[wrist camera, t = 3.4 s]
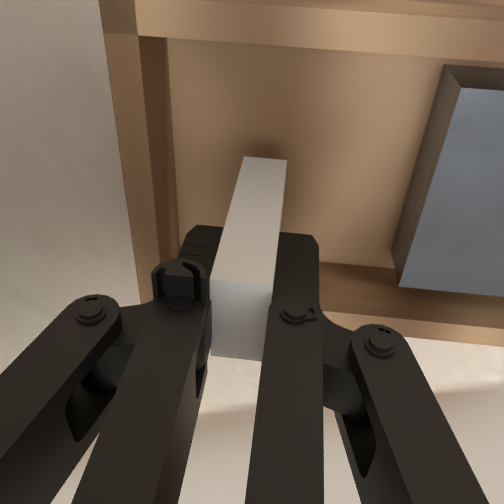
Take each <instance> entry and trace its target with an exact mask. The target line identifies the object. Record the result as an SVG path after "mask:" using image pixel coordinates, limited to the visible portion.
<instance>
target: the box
mask: <svg viewBox="0 0 504 504" xmlns="http://www.w3.org/2000/svg"><path fill="white" fill-rule="evenodd" d="M99 6H100V13H101V20H102V27H103V34H104V42H105V49H106V56H107V63H108V70H109V78H110V85H111V92H112V99H113V106H114V113H115V121H116V128H117V135H118V142H119V149H120V157H121V164H122V171H123V178H124V185H125V193H126V200H127V207H128V214H129V221H130V229H131V236H132V243H133V250H134V257H135V265H136V272H137V279H138V286H139V293H140V300H141V304H144V303H147V302H149V301H152V300H153V289H152V280H151V272H152V270H153V269H154V268H155V266H157V265H159V264H160V263H162V262H164V261H167V260H171V259H177V257H178V255H179V252H180V249H181V247H182V244H183V241H184V239H185V236H186V234H187V233H188V232H189V231H190V230H191V229H192V228H193V227H195V226H196V225H197V224H198V225H208V226H218V227H224V226H225V222H226V219H227V215H228V211H229V208H230V204H231V201H232V197H233V194H234V190H235V186H236V183H237V179H238V176H239V172H240V169H241V165H242V161H243V158H244V156H247V157H258V158H269V159H280V160H287V167H286V177H285V187H284V197H283V207H282V217H281V227H280V232H289V233H299V234H309V235H313V237H314V239H315V240H316V242H317V243H318V245H319V303H320V308H321V310H322V312H323V314H324V315H325V316H326V317H327V318H328V319H329V320H331V321H332V322H333V323H335V324H337V325H339V326H341V327H344V328H346V329H349V330H352V331H355V330H356V329H358V328H359V327H360V326H363V325H367V324H381V325H384V326H387V327H390V328H392V329H394V330H395V331H397V332H398V333H400V334H401V335H402V336H403V337H413V338H423V339H432V340H442V341H452V342H461V343H471V344H481V345H490V346H500V347H504V297H500V296H489V295H479V294H469V293H459V292H449V291H439V290H428V289H418V288H408V287H398V282H397V278H396V273H395V269H394V264H393V260H392V255H391V251H390V250H391V247H392V243H393V240H394V236H395V233H396V229H397V226H398V222H399V219H400V215H401V212H402V208H403V205H404V201H405V198H406V194H407V191H408V187H409V184H410V180H411V177H412V173H413V170H414V166H415V163H416V159H417V156H418V152H419V149H420V145H421V142H422V138H423V135H424V131H425V128H426V124H427V121H428V117H429V114H430V110H431V107H432V103H433V100H434V96H435V93H436V89H437V86H438V82H439V79H440V75H441V72H442V68H443V65H444V64H451V65H464V66H478V67H491V68H504V0H99Z"/></svg>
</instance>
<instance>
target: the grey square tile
mask: <svg viewBox="0 0 504 504" xmlns="http://www.w3.org/2000/svg"><path fill="white" fill-rule="evenodd" d="M390 251H391V255H392V260H393V264H394V269H395V273H396V278H397V282H398V287H408V288H418V289H428V290H439V291H449V292H459V293H469V294H479V295H489V296H500V297H504V68H491V67H478V66H464V65H451V64H444V65H443V68H442V72H441V75H440V79H439V82H438V86H437V89H436V93H435V96H434V100H433V103H432V107H431V110H430V114H429V117H428V121H427V124H426V128H425V131H424V135H423V138H422V142H421V145H420V149H419V152H418V156H417V159H416V163H415V166H414V170H413V173H412V177H411V180H410V184H409V187H408V191H407V194H406V198H405V201H404V205H403V208H402V212H401V215H400V219H399V222H398V226H397V229H396V233H395V236H394V240H393V243H392V247H391V250H390Z"/></svg>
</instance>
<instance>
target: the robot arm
mask: <svg viewBox="0 0 504 504" xmlns="http://www.w3.org/2000/svg"><path fill="white" fill-rule="evenodd" d="M286 167H287V160H280V159H269V158H258V157H247V156H244V158H243V161H242V165H241V169H240V172H239V176H238V179H237V183H236V186H235V190H234V194H233V197H232V201H231V204H230V208H229V211H228V215H227V219H226V222H225V226H224V227H218V226H208V225H198V224H197V225H196V226H195V227H193V228H192V229H191V230H190V231H189V232H188V233H187V234H186V236H185V239H184V241H183V244H182V247H181V249H180V252H179V255H178V257H177V259H171V260H167V261H164V262H162V263H160V264H159V265H157V266H155V268H154V269H153V270H152V272H151V280H152V289H153V300H152V301H149V302H147V303H144V304H139V305H134V306H126V307H119V305H118V303H117V302H116V301H115V300H114V299H113V298H111V297H109V296H106V295H99V294H96V295H88V296H84V297H82V298H79V299H77V300H75V301H74V302H72V303H71V304H70V305H68V306H67V307H66V308H65V309H64V310H63V311H62V312H61V313H60V314H59V315H58V316H57V317H56V318H55V319H54V320H53V321H52V322H51V323H50V324H49V325H48V326H47V327H46V329H45V330H44V331H43V332H42V333H41V334H40V335H39V336H38V337H37V338H36V339H35V340H34V341H33V342H32V343H31V344H30V345H29V346H28V347H27V348H26V349H25V350H24V351H23V352H22V353H21V354H20V355H19V356H18V357H17V358H16V359H15V360H14V361H13V362H12V363H11V364H10V365H9V366H8V367H7V368H6V369H5V370H4V371H3V372H2V373H1V374H0V504H50V503H51V502H52V500H53V499H54V497H55V496H56V494H57V493H58V492H59V490H60V489H61V487H62V486H63V484H64V483H65V481H66V480H67V478H68V477H69V476H70V474H71V473H72V471H73V470H74V468H75V467H76V465H77V464H78V462H79V461H80V460H81V458H82V456H83V455H84V454H85V452H86V451H87V449H88V448H89V446H90V445H91V444H92V442H93V441H94V439H95V438H96V436H97V435H98V433H99V432H100V433H99V436H98V438H97V441H96V443H95V446H94V448H93V451H92V453H91V456H90V458H89V460H88V463H87V465H86V468H85V471H84V473H83V476H82V478H81V480H80V483H79V486H78V488H77V490H76V493H75V495H74V498H73V500H72V503H71V504H178V500H179V496H180V491H181V487H182V483H183V478H184V474H185V469H186V465H187V460H188V456H189V452H190V447H191V443H192V438H193V434H194V429H195V425H196V421H197V416H198V412H199V407H200V403H201V399H202V394H203V390H204V385H205V381H206V376H207V359H208V354H209V350H210V353H211V356H220V357H228V358H237V359H245V360H254V361H262V366H261V374H260V382H259V390H258V399H257V407H256V415H255V423H254V432H253V440H252V449H251V457H250V464H249V473H248V481H247V489H246V497H245V504H324V461H323V460H324V456H323V455H324V453H323V452H324V450H323V406H324V407H327V408H329V409H332V410H333V411H334V412H335V417H336V421H337V424H338V427H339V431H340V434H341V437H342V440H343V444H344V447H345V450H346V454H347V457H348V461H349V464H350V467H351V470H352V474H353V477H354V481H355V484H356V487H357V490H358V494H359V497H360V501H361V504H489V502H488V500H487V498H486V496H485V495H484V493H483V490H482V488H481V487H480V485H479V483H478V481H477V479H476V477H475V475H474V473H473V471H472V469H471V467H470V465H469V463H468V461H467V459H466V457H465V455H464V453H463V451H462V449H461V447H460V445H459V443H458V441H457V439H456V437H455V435H454V433H453V431H452V430H451V427H450V426H449V423H448V421H447V419H446V418H445V416H444V414H443V412H442V410H441V408H440V406H439V404H438V402H437V400H436V398H435V396H434V394H433V392H432V390H431V388H430V386H429V384H428V382H427V380H426V378H425V376H424V374H423V372H422V370H421V368H420V366H419V364H418V362H417V360H416V358H415V356H414V354H413V352H412V350H411V349H410V347H409V345H408V343H407V341H406V340H405V339H404V337H403V336H402V335H401V334H400V333H398V332H397V331H395V330H394V329H392V328H390V327H387V326H384V325H381V324H367V325H363V326H360V327H359V328H358V329H356V330H355V331H352V330H349V329H346V328H344V327H341V326H339V325H337V324H335V323H333V322H332V321H331V320H329V319H328V318H327V317H326V316H325V315H324V314H323V312H322V310H321V308H320V303H319V245H318V243H317V242H316V240H315V239H314V237H313V235H309V234H299V233H289V232H280V227H281V217H282V207H283V197H284V187H285V177H286Z"/></svg>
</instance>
